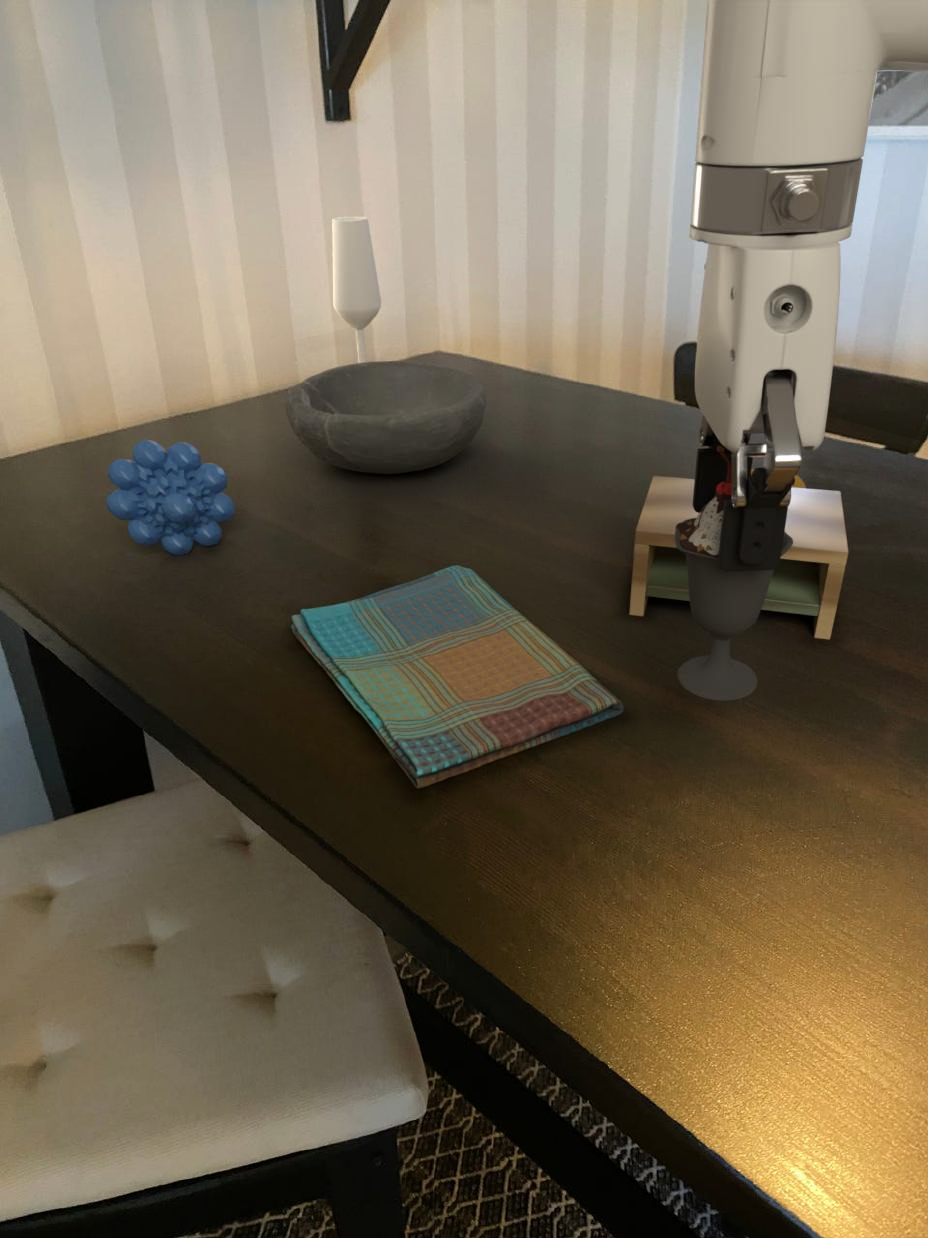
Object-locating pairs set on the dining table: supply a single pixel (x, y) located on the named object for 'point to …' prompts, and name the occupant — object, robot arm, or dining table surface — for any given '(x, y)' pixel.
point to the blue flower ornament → (170, 496)
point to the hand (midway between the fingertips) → (732, 535)
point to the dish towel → (451, 673)
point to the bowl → (386, 415)
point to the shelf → (795, 585)
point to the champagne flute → (354, 276)
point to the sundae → (719, 602)
